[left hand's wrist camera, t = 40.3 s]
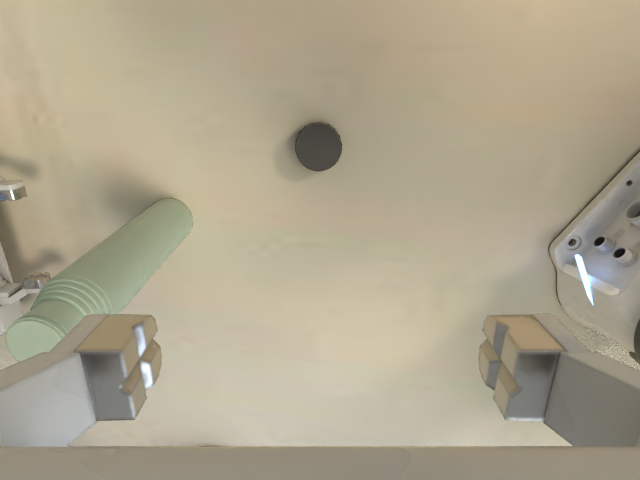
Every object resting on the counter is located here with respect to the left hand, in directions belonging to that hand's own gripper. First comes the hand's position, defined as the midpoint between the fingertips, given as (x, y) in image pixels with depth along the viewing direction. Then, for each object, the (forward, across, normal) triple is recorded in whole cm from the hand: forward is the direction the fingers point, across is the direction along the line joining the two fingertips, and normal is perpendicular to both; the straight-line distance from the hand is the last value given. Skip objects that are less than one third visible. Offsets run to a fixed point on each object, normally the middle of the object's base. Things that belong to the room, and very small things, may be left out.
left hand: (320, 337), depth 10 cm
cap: (+32, 0, 0) cm, 32 cm away
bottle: (+34, +16, +8) cm, 38 cm away
